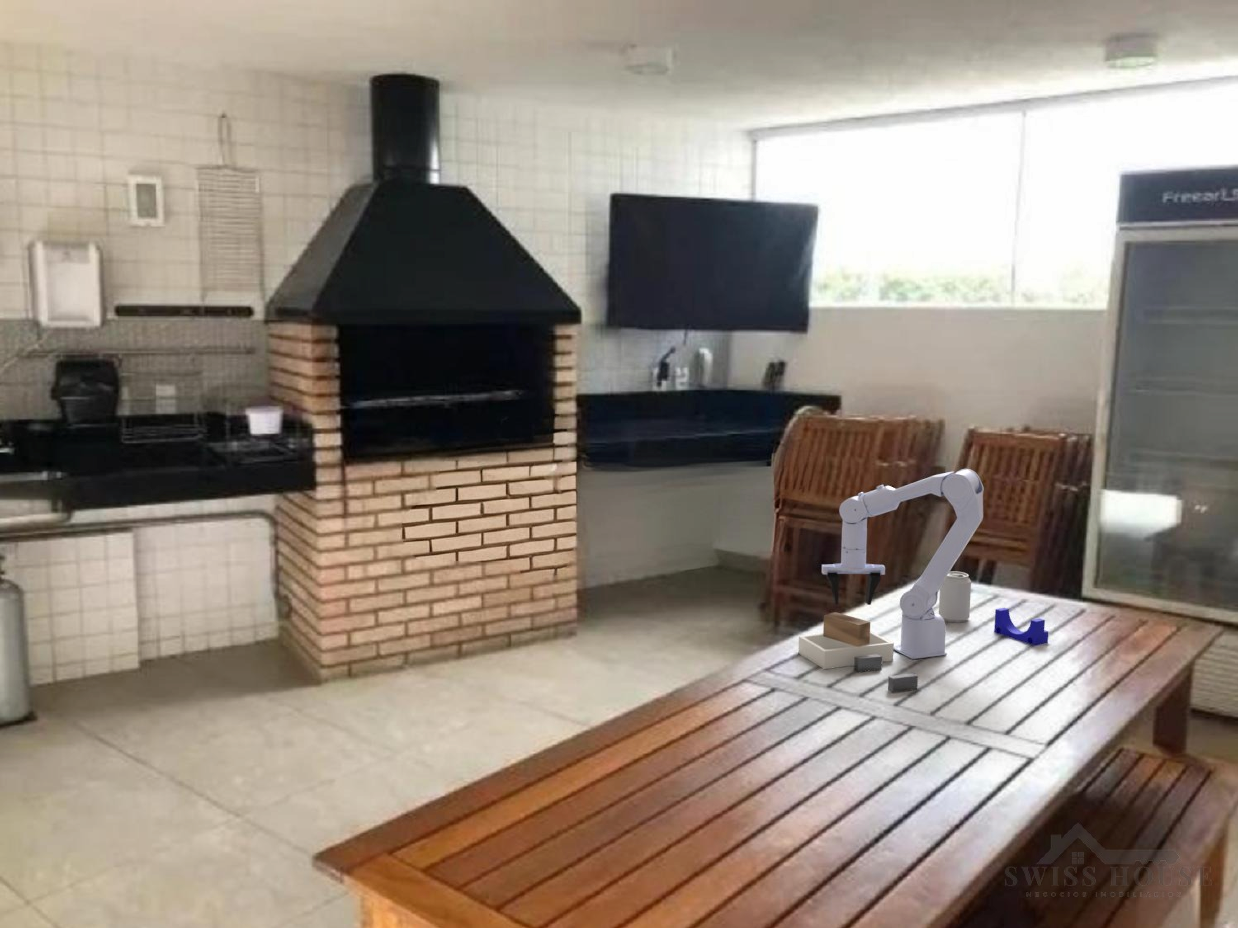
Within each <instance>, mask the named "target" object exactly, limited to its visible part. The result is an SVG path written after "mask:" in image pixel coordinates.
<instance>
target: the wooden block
mask: <svg viewBox="0 0 1238 928" xmlns="http://www.w3.org/2000/svg"><path fill="white" fill-rule="evenodd" d="M822 630H823V632H822V634H823V636H824V637H827V638H830V639H834V640H837V641H840V642H844V643H847V644H850V645H854V646H857V647H860V646H863V645H866V644H869V643H870V631H871V621H869V620H864V619H862V618H858V617H854V616H850V615H847V614H843V613H840V612H836V611H835V612H834V611H833V612H831V613H828V614H823V629H822Z"/></svg>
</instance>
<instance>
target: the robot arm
mask: <svg viewBox="0 0 1238 928" xmlns="http://www.w3.org/2000/svg"><path fill="white" fill-rule="evenodd" d="M984 489H985V487H984V485H983V483H982V480H981V478H980V476H979V475H978V474H977V472H976V471H974V470H972V469H970V468H963V469H960V470H958V471H956V472H955V471H948V472H945V473H938V474H935V475H931V476H929V477H927V478H924V479H920V480H918V481H915V482H912V483H909V484H907V485H903V486H900V487H898V488H895V487H892V485H891V486H890V485H885V486H884V484H881V485H878V486H876V488H875V489H874V490H870V491H868V492H864V491H861V492H859V493H857V495H855V496H851V497H849V498H847V499H845V500H844V501H843V502H841V504H840V506H839V509H838V511H839V515H840V517H841V519H842V526H841V553H840V554H841V555H840V556H841V557H840V563H833V564H830V563H829V564H828V563H827V564H821V574H822V575H825V576H826V578H827V580H828V583H829V585H830V589H831V593H832V594H831V595H832V598H833V604H834V605H836V606H837V605H839V587H840V578H839V575H840V574H841V575H866V596H865V603H866V605H868V606H869V605H870V606H871V605H872V600H873V597H874V594H875V593H876V590H877V587H878V586H879V584H880V582H881V580H882V576H883V575H884V576H885V575H886V567H885V565H884V564H875V563H874V564H872V563H867V543H868V542H867V539H868V528H867V527H868V517H869V518H872V517H876V516H879V515H883V514H885V513H888V512H891V511H895V510H897V509H898V507H899V506H900V503H902V502H905V501H908V500H913V499H915V498H918V497H922V496H926V495H929V494H932V495H935V496H938V497H940V498H941V497H943V496H944V497H945V498H946V499H947V501H948V502H949V503H950V505H951V506H952V507H953V510H954V512H955V515H956V519H955V521H954V522H953V524H952V526H951V527H950V529H949V531H948V533H947V534H946V536H945V537H944V539H943V541H941V544H940V545H939V546H938V548H937V550H936V551H935V553H934V554H933V556H932V558H931V559H930V561H929V562H928V564H927V566H926V568H925V569H924V571H923V573H922V574H921V575H920V576H919V578H918V579H917V580H916V582H915V583H914V585H913V586H912V587H911V588H910V589H909V590H908V591H905V592H904V593H903V594H902V595H901V597H900V599H899V607H900V610H901V632H900V633H901V634H900V637H901V638H900V646H899V645H898V646H894V647H893V651H896V652H898V653H900V654H902V655H904V656H906V657H907V658H910V659H912V660H915V659H916V660H917V659H923V658H932V657H939V656H940V657H942V656H947V654H948V652H946V651H945V650H946V631H947V629H946V628H947V627H946V622H945V620H944V619H943V618H942V616H941V615H939V613H937V612H936V613H935V611H934V609H933V607H934V606H935V605H936V604H937V602H938V600H939V599H938V595H939V592H940V588H941V586H942V583H943V581H944V579H945V578H946V576H947V575H948V573H949V572H950V571H951V570H952V569H953V567H954V566H955V564H956V562H957V560H958V559H959V557H960V556H961V555H962V553H963V551H964V550H965V549H966V546H967V544H968V543H969V542H970V540H971V538H972V537H973V535H974V534H975V532H976V531H977V529H978V528H979V526H980V525H981V523H982V522H983V518H984ZM881 575H882V576H881Z"/></svg>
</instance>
